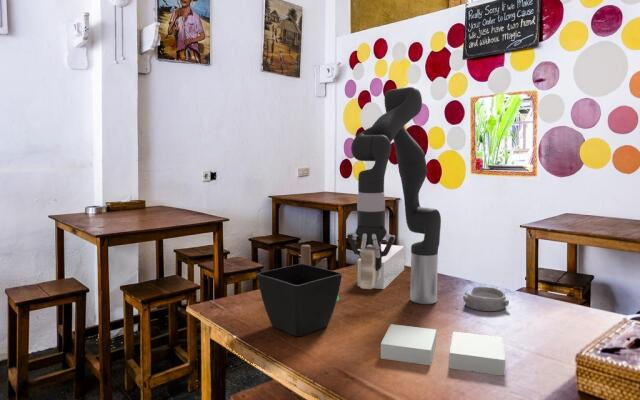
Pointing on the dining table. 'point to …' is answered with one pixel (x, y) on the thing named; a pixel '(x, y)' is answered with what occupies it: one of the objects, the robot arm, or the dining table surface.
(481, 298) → the dish
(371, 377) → the dining table surface
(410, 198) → the robot arm
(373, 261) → the beige metallic bar
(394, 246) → the long white block
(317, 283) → the flower pot
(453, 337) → the slotted board
